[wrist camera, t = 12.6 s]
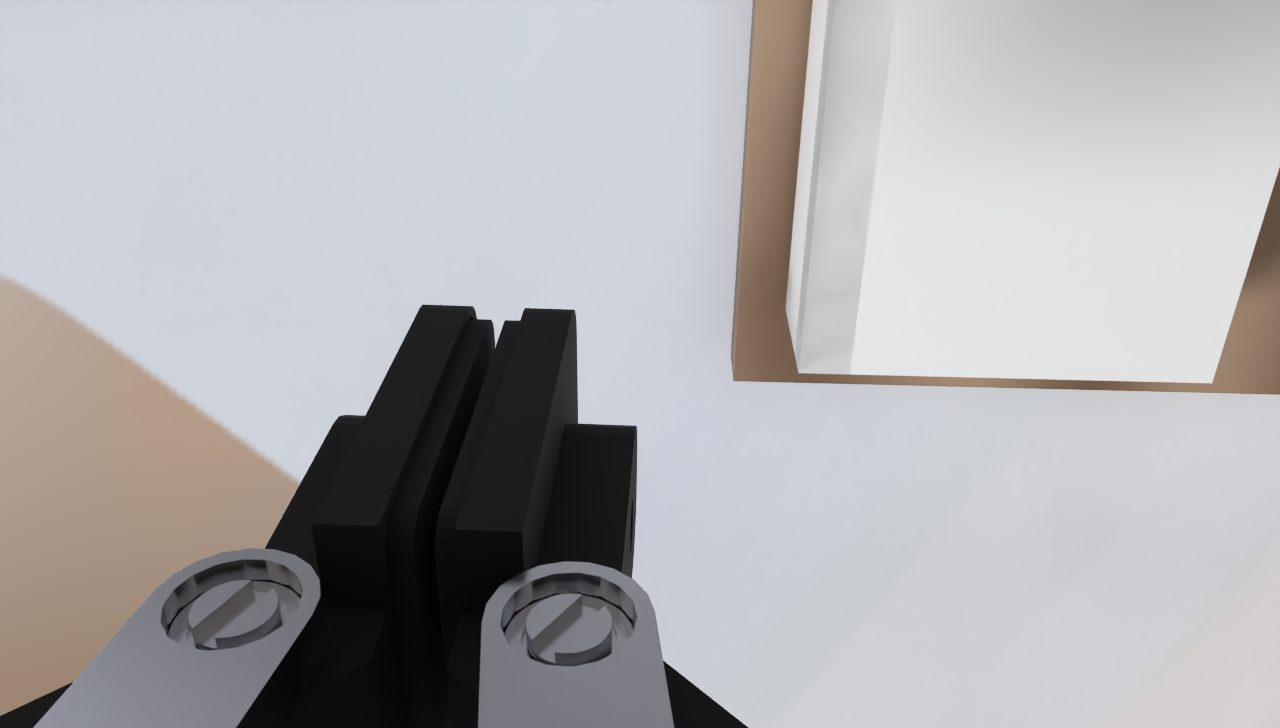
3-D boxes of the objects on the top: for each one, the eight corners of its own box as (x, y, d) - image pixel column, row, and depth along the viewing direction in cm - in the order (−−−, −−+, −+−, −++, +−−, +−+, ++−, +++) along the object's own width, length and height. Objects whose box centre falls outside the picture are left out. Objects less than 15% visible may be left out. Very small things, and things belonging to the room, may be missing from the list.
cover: (785, 309, 24) (798, 373, 21) (820, -87, 20) (841, -64, 17) (1155, 318, 24) (1212, 383, 21) (1264, -78, 20) (1348, -54, 17)
